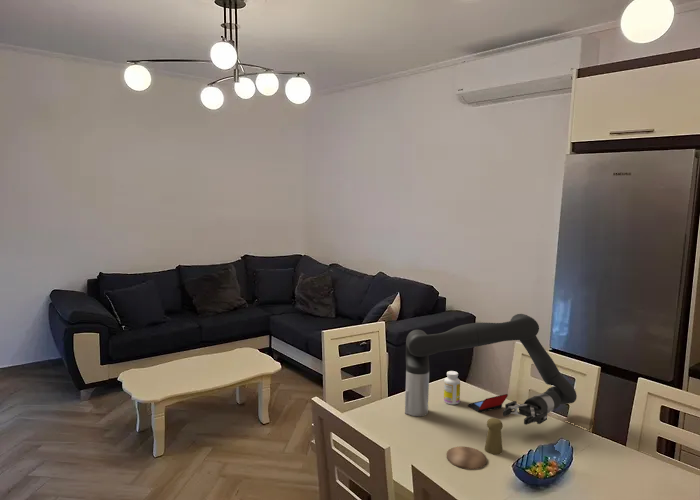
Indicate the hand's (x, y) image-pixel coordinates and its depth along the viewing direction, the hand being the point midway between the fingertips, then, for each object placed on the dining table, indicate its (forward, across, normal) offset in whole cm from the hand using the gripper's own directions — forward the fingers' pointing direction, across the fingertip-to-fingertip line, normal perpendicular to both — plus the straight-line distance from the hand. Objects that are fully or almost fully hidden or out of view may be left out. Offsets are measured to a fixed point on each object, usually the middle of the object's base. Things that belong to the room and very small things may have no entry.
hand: (514, 417), depth 177 cm
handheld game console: (-15, -22, +9) cm, 29 cm away
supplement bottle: (-8, -36, +9) cm, 38 cm away
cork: (+12, 0, +9) cm, 14 cm away
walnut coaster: (+24, -2, +8) cm, 25 cm away
